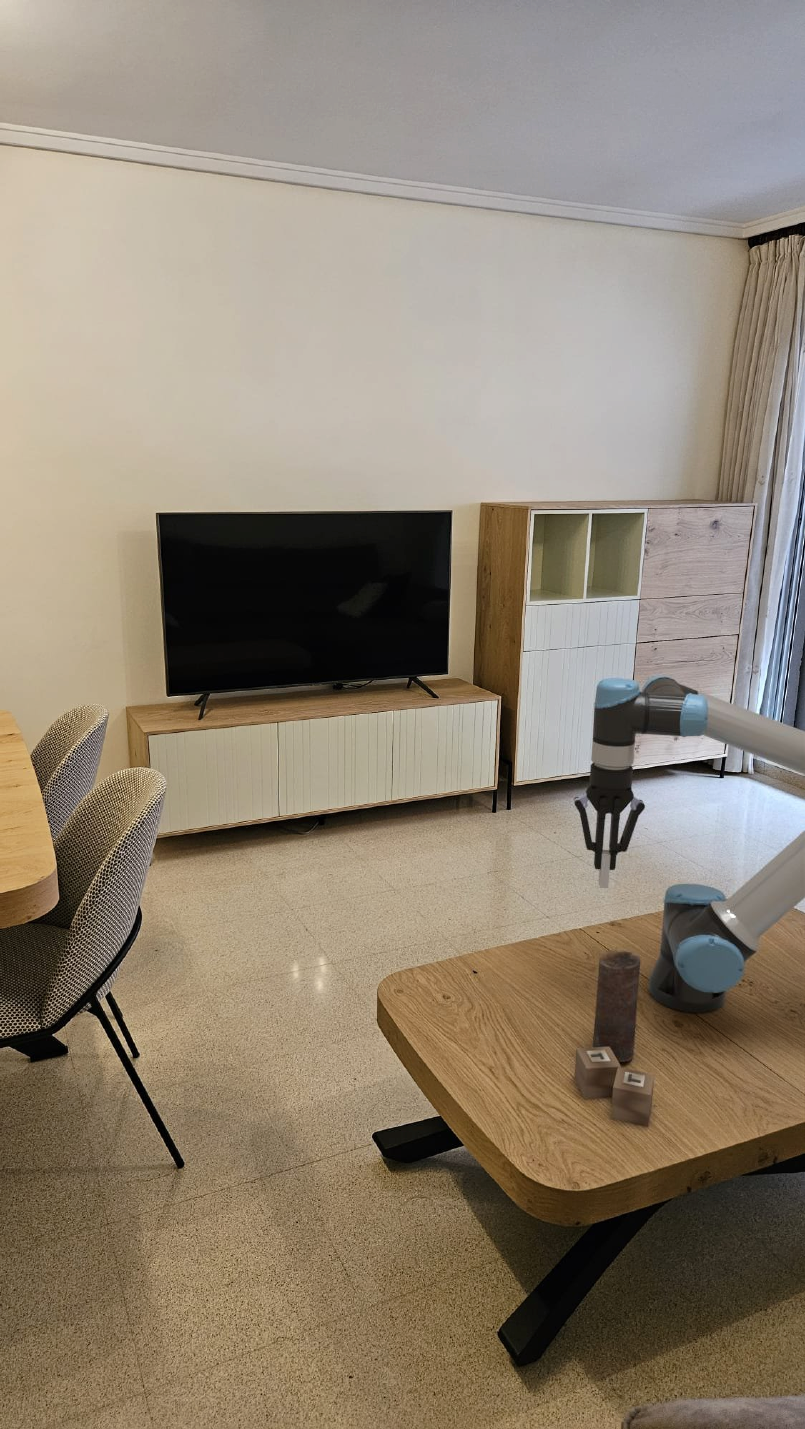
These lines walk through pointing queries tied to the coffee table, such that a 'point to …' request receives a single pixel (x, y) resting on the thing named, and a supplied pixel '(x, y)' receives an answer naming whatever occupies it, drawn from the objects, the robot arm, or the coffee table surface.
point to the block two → (595, 1072)
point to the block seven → (632, 1096)
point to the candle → (617, 1003)
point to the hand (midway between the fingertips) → (603, 884)
